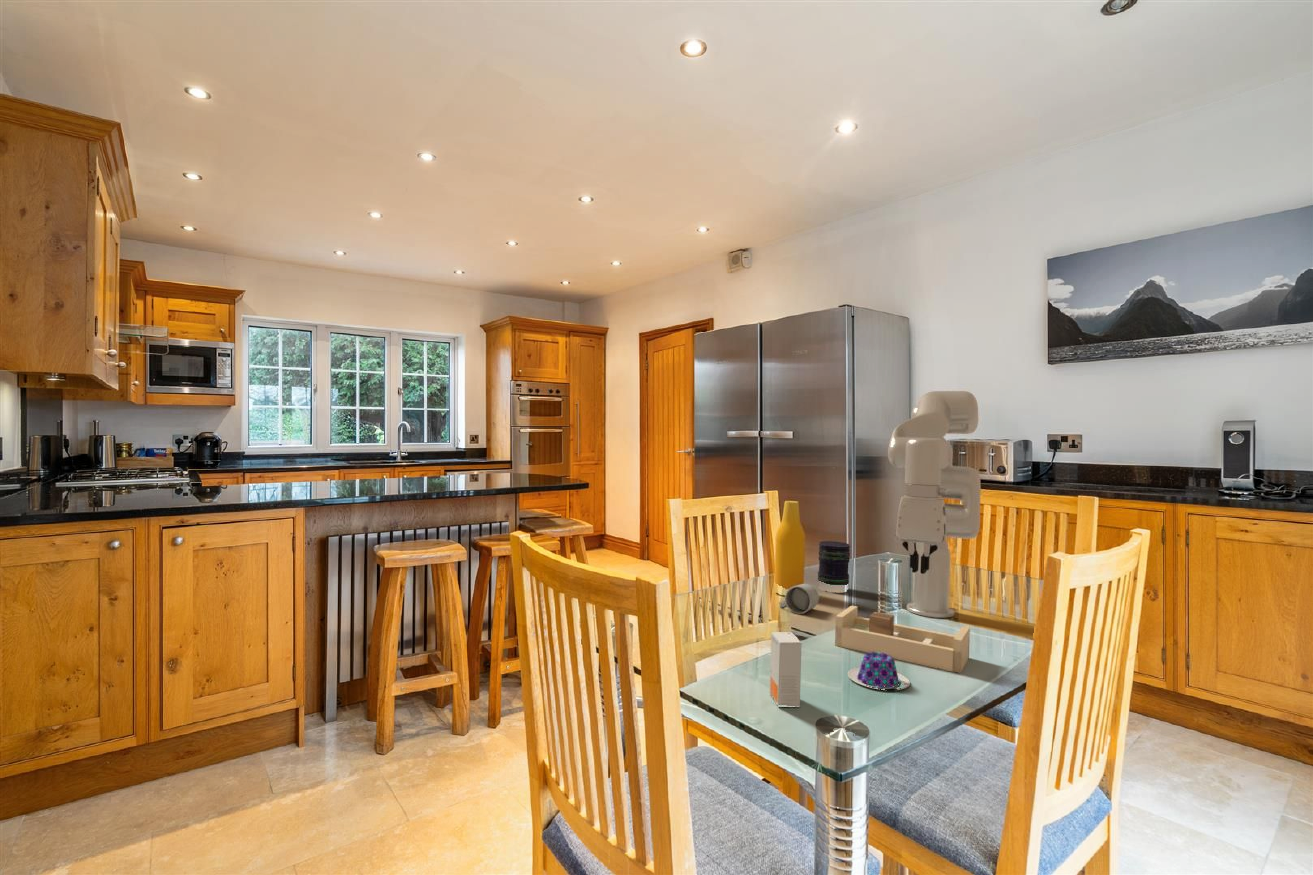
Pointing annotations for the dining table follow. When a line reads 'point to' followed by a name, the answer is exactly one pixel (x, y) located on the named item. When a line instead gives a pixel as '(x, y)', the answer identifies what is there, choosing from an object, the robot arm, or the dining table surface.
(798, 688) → the skincare box
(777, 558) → the beer bottle
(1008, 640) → the dining table surface
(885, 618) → the walnut block
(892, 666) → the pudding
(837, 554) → the storage jar
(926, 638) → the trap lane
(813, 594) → the ceramic mug
